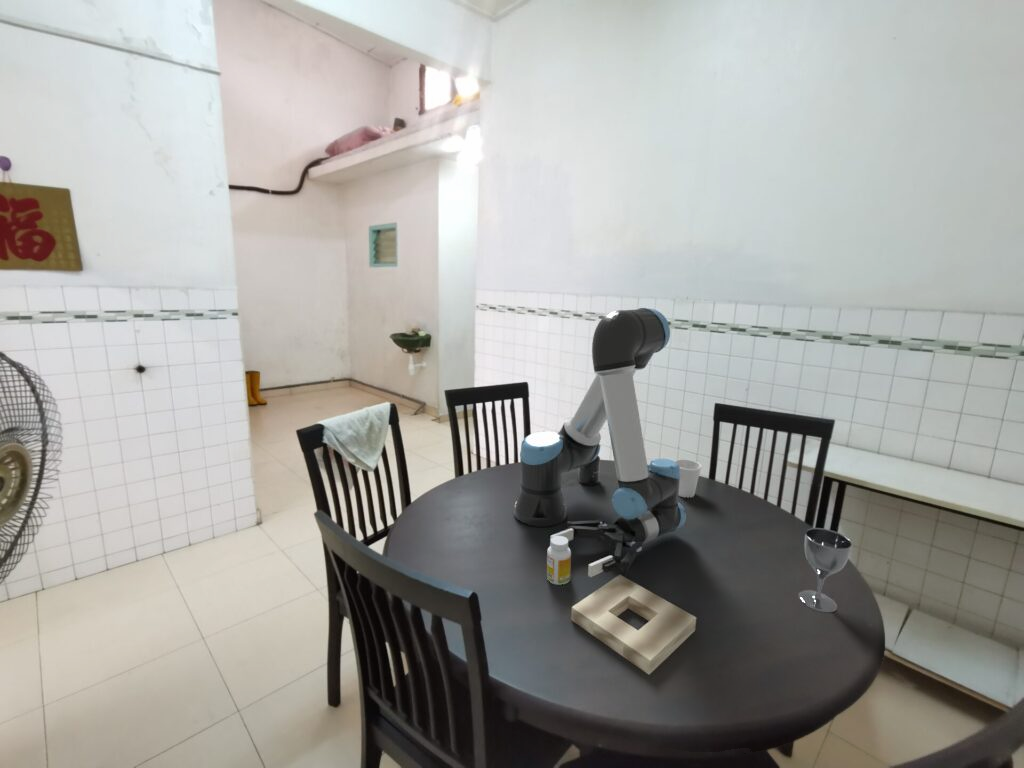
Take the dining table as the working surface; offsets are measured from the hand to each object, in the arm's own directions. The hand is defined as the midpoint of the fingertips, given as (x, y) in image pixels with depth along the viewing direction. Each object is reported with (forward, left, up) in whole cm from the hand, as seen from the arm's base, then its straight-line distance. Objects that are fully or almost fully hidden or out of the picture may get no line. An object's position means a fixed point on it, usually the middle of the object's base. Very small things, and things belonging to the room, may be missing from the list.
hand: (569, 555), depth 108 cm
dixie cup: (-4, +60, -6) cm, 61 cm away
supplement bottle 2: (-30, +44, -6) cm, 54 cm away
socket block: (+19, -2, -6) cm, 19 cm away
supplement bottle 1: (-1, -2, -6) cm, 6 cm away
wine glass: (+41, +34, -6) cm, 53 cm away
